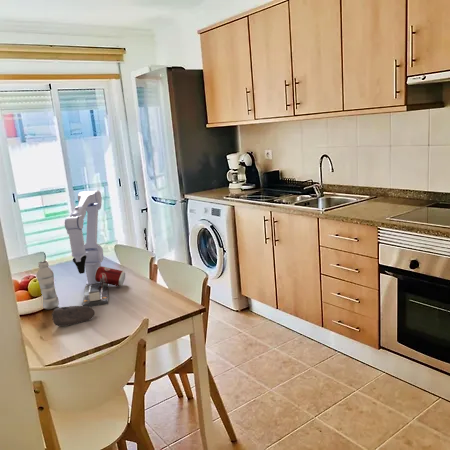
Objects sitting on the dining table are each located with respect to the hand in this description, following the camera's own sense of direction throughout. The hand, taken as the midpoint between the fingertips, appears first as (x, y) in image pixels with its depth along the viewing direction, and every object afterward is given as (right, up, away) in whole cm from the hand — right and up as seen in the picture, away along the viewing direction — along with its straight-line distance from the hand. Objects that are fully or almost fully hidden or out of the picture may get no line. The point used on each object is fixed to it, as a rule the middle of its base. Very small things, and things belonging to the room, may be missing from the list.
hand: (82, 273), depth 195 cm
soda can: (+17, -3, +6) cm, 18 cm away
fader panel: (+7, -10, -3) cm, 12 cm away
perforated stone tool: (+7, -16, -29) cm, 33 cm away
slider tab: (+9, -10, -12) cm, 18 cm away
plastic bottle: (-9, -13, -12) cm, 20 cm away
